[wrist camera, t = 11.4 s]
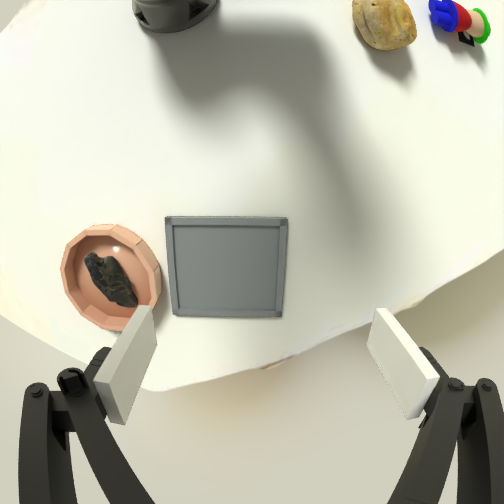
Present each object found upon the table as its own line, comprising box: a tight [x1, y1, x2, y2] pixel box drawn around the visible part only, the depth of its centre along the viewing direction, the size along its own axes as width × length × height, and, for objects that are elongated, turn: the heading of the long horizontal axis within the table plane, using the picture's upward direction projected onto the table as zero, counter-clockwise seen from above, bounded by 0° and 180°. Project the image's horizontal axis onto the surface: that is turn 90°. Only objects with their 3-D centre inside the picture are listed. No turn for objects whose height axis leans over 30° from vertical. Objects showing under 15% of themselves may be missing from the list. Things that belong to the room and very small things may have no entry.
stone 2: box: [352, 0, 417, 50], centre depth 33 cm, size 13×10×10 cm
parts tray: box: [165, 216, 288, 317], centre depth 52 cm, size 18×20×1 cm
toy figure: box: [429, 0, 491, 46], centre depth 32 cm, size 9×10×15 cm
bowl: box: [60, 224, 162, 331], centre depth 50 cm, size 20×20×4 cm
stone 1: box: [84, 252, 138, 308], centre depth 49 cm, size 7×13×5 cm, turn 33°
